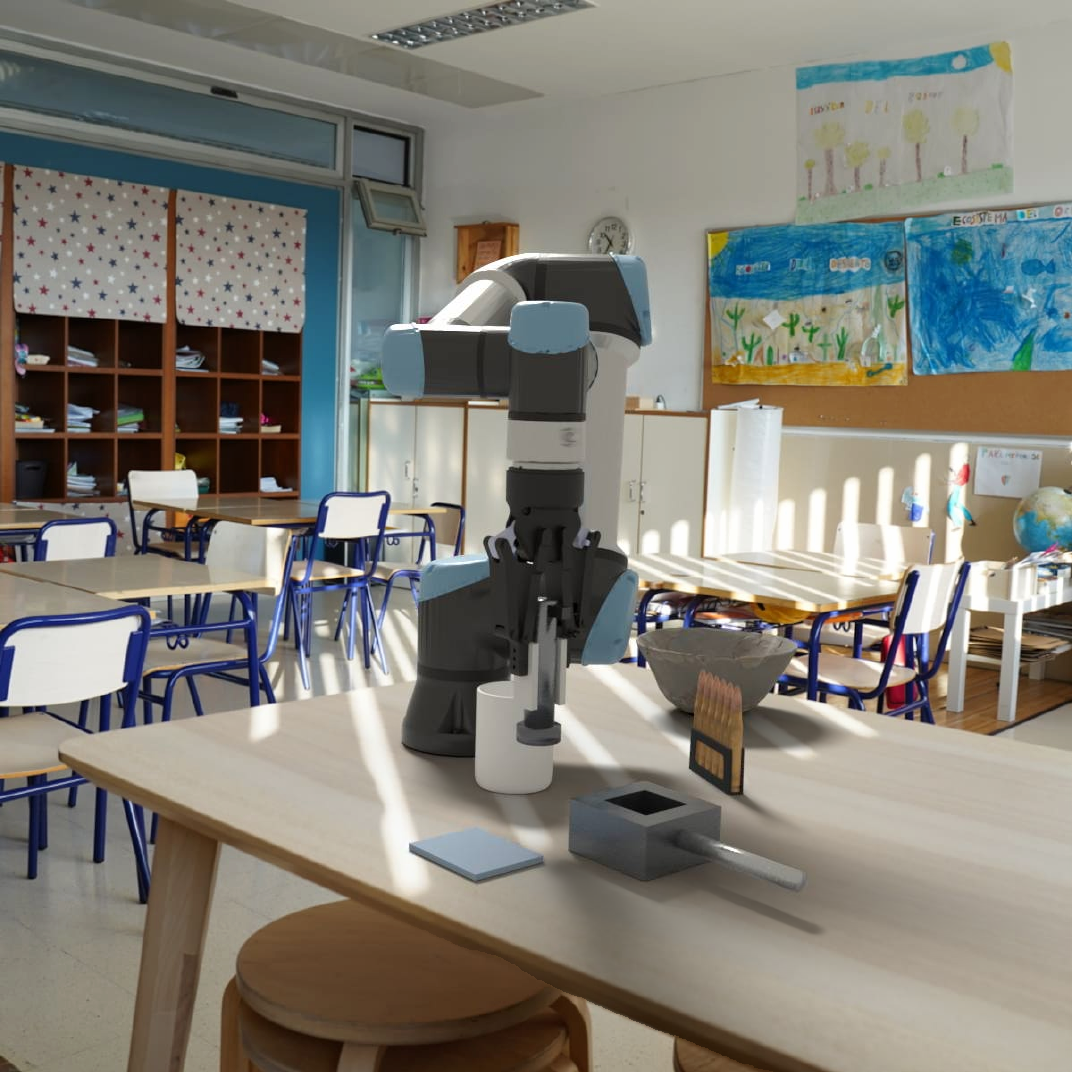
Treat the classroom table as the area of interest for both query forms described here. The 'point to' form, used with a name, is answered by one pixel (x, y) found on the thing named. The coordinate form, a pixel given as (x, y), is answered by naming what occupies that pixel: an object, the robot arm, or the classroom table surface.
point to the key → (544, 677)
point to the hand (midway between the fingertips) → (539, 704)
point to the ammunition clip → (718, 735)
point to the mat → (476, 853)
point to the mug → (507, 745)
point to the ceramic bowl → (715, 661)
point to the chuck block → (661, 835)
